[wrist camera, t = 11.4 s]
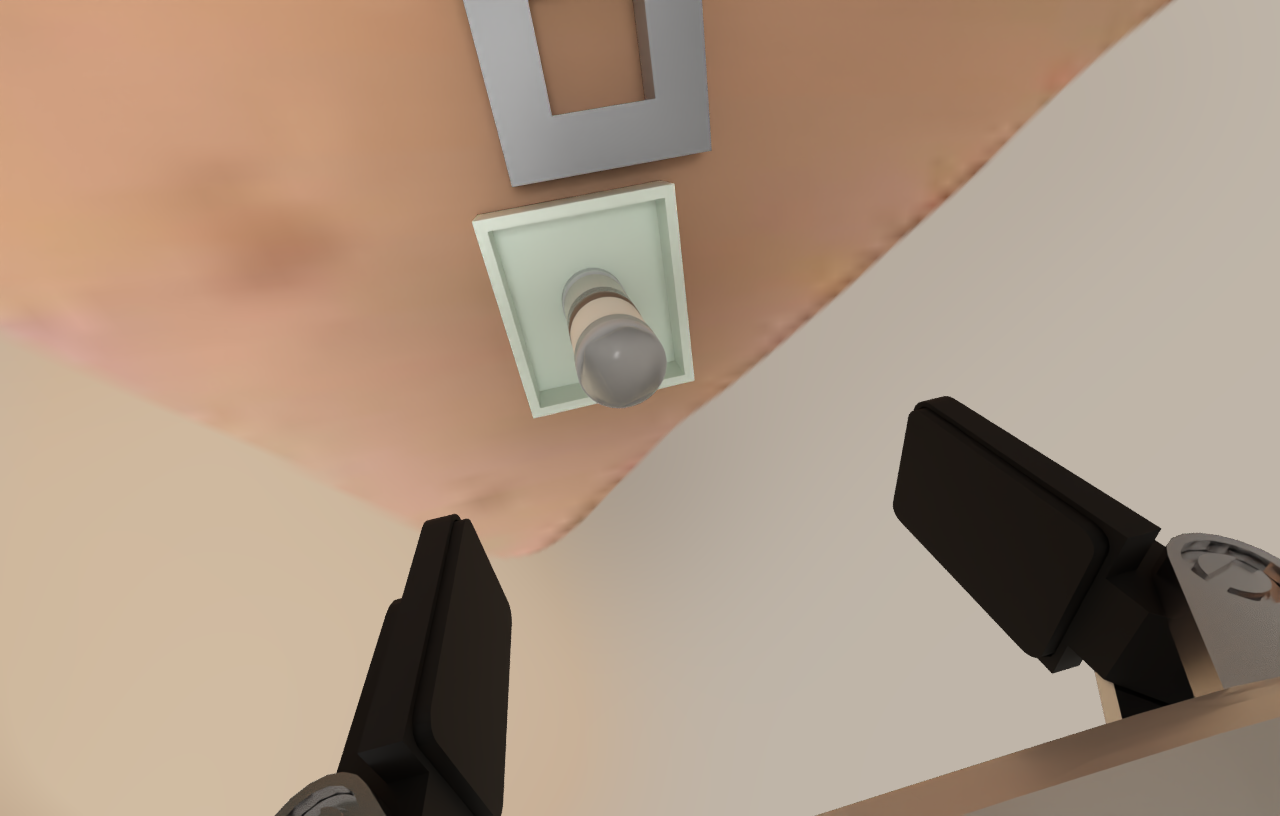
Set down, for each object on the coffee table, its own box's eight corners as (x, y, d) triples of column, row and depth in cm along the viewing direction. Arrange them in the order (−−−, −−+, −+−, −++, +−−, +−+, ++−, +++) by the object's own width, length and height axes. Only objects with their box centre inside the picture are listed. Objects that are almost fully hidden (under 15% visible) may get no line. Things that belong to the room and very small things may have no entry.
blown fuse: (618, 261, 24) (660, 315, 16) (628, 322, 26) (671, 397, 18) (554, 274, 24) (567, 335, 16) (569, 335, 25) (587, 417, 18)
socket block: (677, -111, 18) (692, -137, 17) (697, 150, 23) (711, 150, 21) (444, -82, 17) (435, -107, 16) (513, 183, 22) (512, 187, 20)
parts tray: (660, 180, 23) (674, 183, 21) (681, 362, 28) (694, 380, 26) (477, 214, 22) (471, 221, 20) (532, 397, 27) (533, 418, 25)
